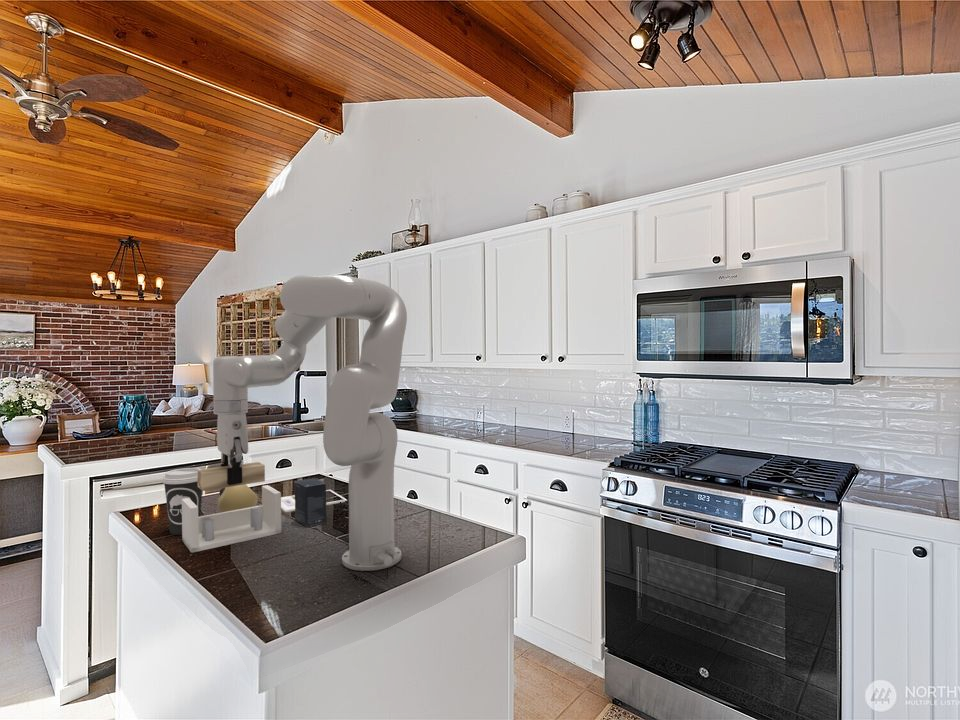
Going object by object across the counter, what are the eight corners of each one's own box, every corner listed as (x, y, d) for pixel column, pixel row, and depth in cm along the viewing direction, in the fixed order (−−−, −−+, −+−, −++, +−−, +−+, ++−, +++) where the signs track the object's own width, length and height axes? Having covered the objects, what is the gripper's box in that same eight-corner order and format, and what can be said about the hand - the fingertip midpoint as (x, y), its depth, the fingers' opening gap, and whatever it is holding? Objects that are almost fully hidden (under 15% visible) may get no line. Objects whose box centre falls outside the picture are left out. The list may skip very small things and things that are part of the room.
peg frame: (281, 532, 131) (280, 492, 131) (191, 552, 119) (190, 508, 118) (268, 522, 139) (267, 485, 139) (182, 540, 126) (181, 499, 126)
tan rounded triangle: (252, 509, 151) (252, 472, 151) (260, 520, 141) (260, 480, 141) (214, 515, 146) (213, 477, 146) (219, 527, 136) (219, 486, 136)
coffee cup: (214, 527, 135) (213, 469, 135) (176, 539, 127) (175, 477, 127) (192, 521, 140) (191, 465, 140) (154, 532, 132) (153, 472, 132)
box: (326, 522, 139) (326, 482, 139) (305, 527, 135) (305, 486, 135) (315, 515, 145) (314, 477, 145) (294, 520, 141) (294, 480, 141)
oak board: (264, 481, 131) (264, 465, 131) (202, 491, 122) (202, 473, 122) (258, 477, 135) (258, 461, 135) (197, 486, 126) (197, 470, 126)
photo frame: (272, 498, 160) (330, 488, 171) (272, 501, 160) (330, 492, 171) (285, 509, 148) (347, 499, 159) (285, 513, 148) (347, 502, 159)
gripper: (257, 409, 124) (258, 486, 125) (237, 403, 137) (237, 473, 138) (223, 411, 119) (224, 491, 120) (205, 405, 133) (206, 477, 133)
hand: (231, 480), depth 129 cm, fingers closed on oak board, 5 cm apart
